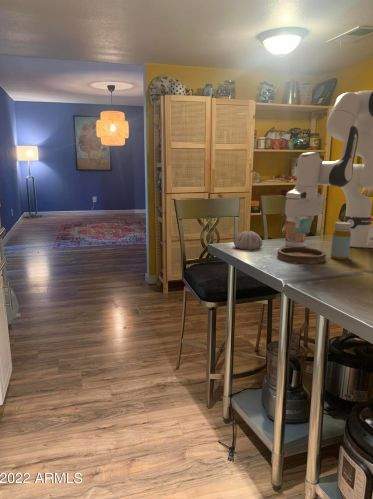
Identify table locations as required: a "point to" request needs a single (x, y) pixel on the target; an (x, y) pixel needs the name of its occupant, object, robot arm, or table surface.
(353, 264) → the table surface
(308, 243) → the table surface
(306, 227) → the bead
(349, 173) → the robot arm
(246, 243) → the sea urchin shell
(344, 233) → the bottle
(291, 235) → the fruit juice
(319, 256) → the round tray
